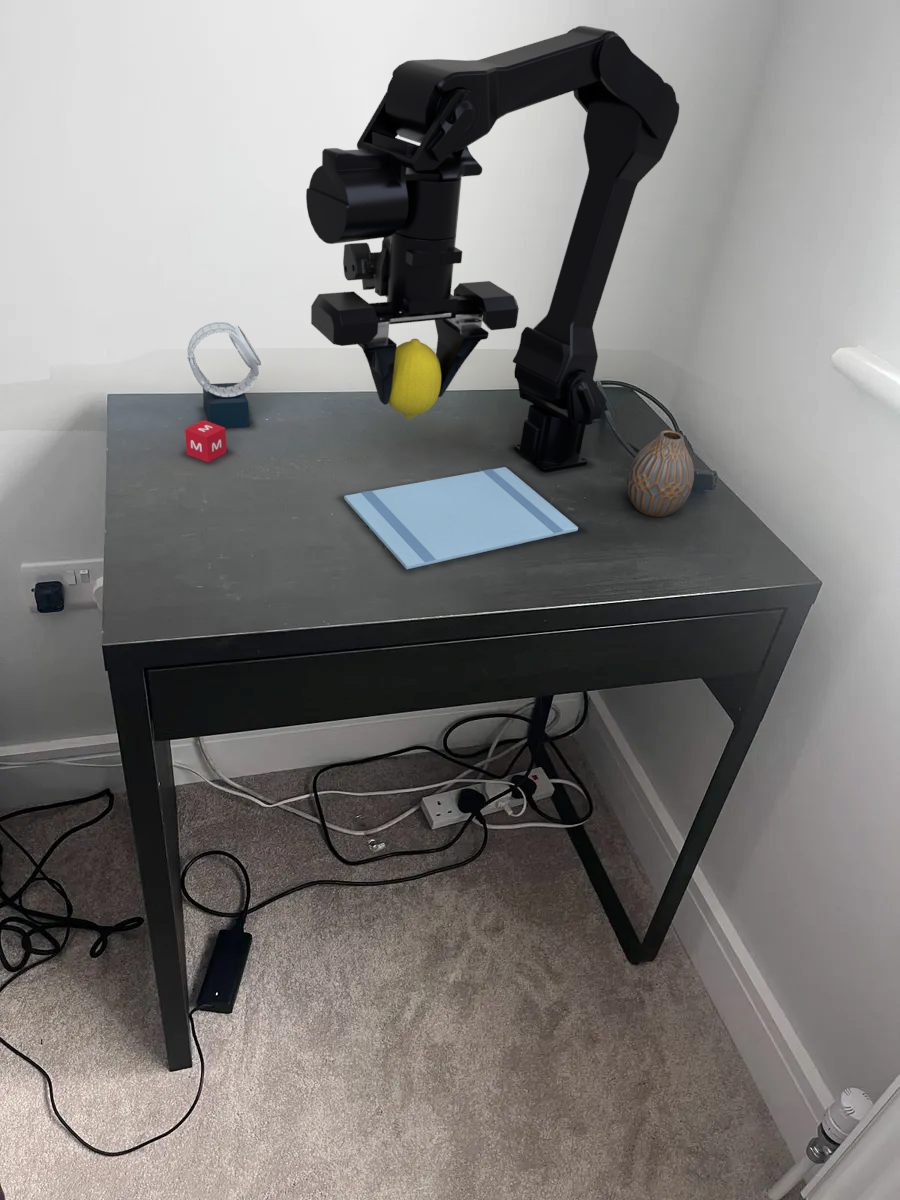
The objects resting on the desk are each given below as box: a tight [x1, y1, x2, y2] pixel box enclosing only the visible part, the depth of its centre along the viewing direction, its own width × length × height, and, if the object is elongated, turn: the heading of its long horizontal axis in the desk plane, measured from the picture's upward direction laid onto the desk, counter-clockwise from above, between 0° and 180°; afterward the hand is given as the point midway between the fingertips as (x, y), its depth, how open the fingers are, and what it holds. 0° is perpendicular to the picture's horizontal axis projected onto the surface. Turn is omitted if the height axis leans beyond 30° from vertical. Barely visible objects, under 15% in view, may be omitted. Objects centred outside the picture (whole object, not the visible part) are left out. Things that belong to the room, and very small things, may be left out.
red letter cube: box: [184, 419, 227, 463], centre depth 99 cm, size 3×3×3 cm
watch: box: [187, 321, 262, 429], centre depth 104 cm, size 6×8×11 cm
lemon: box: [388, 338, 441, 420], centre depth 87 cm, size 6×6×8 cm
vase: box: [626, 429, 695, 518], centre depth 98 cm, size 7×7×9 cm
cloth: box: [343, 466, 579, 570], centre depth 95 cm, size 20×14×1 cm
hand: (411, 399), depth 89 cm, fingers closed on lemon, 5 cm apart
